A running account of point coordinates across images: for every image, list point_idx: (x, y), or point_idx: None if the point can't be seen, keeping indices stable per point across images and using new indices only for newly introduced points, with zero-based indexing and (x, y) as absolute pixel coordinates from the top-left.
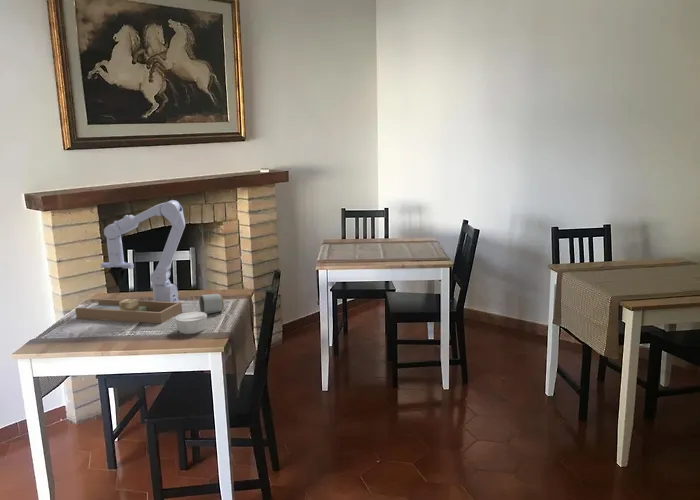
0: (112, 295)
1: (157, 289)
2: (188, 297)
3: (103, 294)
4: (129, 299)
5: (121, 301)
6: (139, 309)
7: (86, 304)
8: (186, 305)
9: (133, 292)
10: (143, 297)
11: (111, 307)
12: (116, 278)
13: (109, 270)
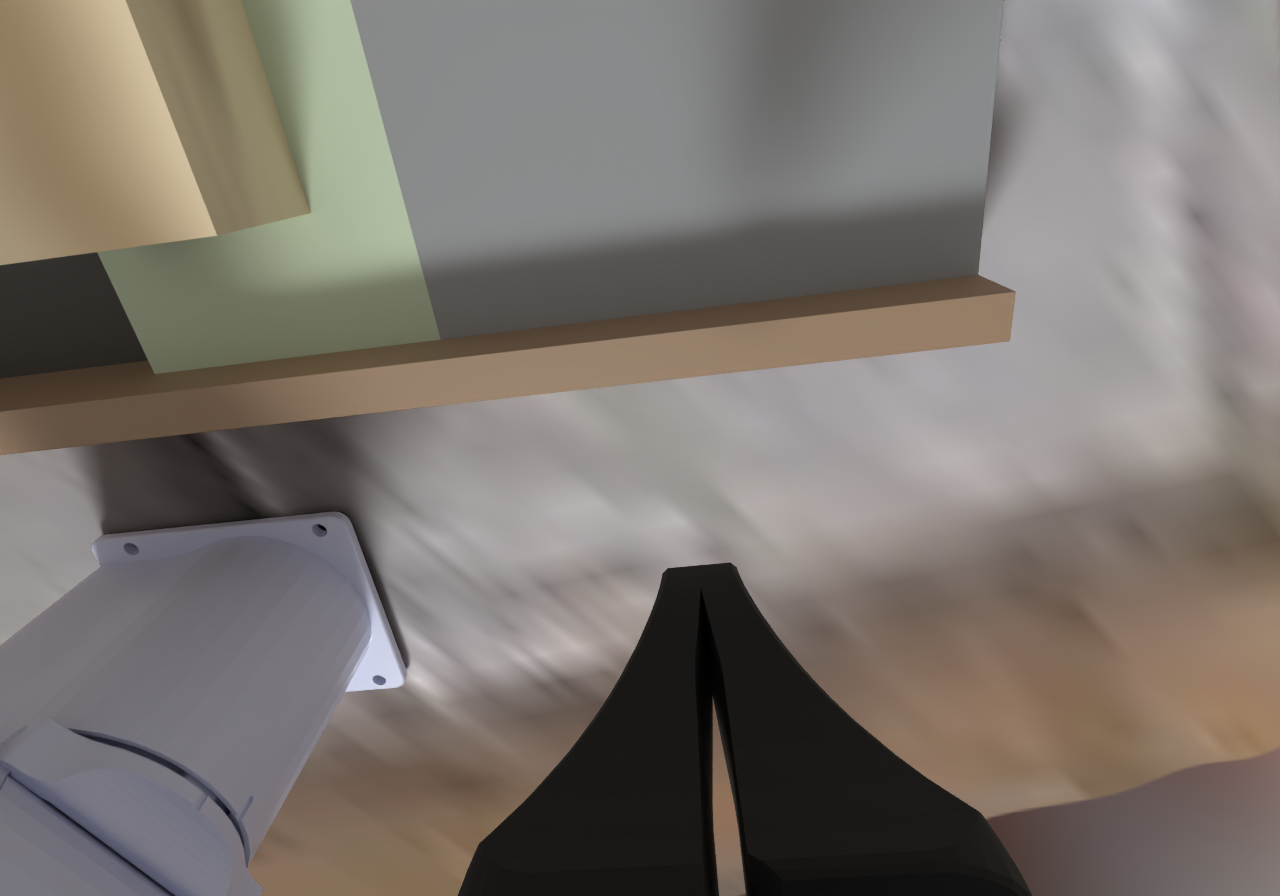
0: (1126, 724)
1: (71, 686)
2: (276, 815)
3: (1263, 730)
4: (127, 207)
5: (117, 11)
6: None
7: (1276, 379)
8: None
9: None
10: (713, 737)
11: (618, 175)
12: (689, 666)
13: (943, 863)
